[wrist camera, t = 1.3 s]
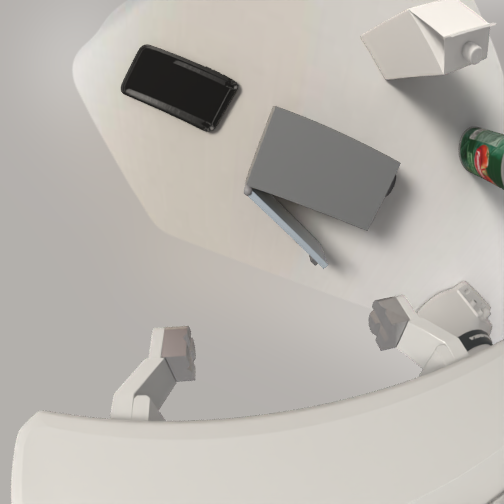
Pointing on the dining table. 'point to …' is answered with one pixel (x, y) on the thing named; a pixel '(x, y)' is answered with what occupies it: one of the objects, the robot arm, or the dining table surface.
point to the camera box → (321, 169)
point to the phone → (179, 87)
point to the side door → (288, 224)
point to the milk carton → (429, 40)
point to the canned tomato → (483, 154)
